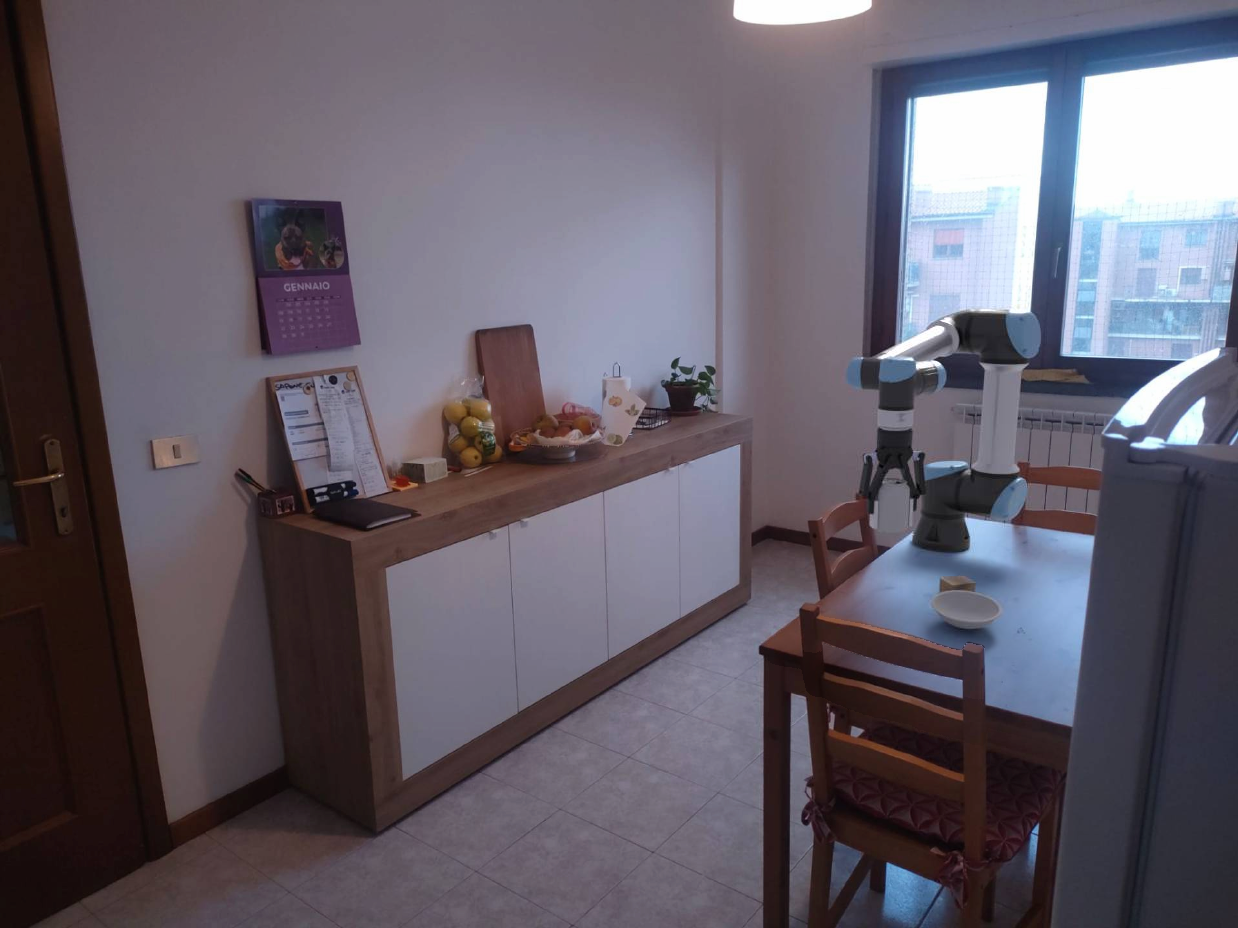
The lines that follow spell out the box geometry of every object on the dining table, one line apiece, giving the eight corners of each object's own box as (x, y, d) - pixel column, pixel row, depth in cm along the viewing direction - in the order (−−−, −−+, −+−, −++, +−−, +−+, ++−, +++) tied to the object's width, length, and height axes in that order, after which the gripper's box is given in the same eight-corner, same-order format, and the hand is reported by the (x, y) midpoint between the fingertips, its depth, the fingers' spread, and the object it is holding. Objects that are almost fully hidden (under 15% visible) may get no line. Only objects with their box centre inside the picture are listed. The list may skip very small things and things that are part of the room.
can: (909, 536, 191) (912, 484, 188) (874, 535, 193) (876, 483, 190) (905, 526, 198) (908, 476, 195) (872, 525, 200) (874, 475, 197)
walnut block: (961, 590, 206) (962, 575, 205) (974, 598, 201) (975, 582, 201) (939, 593, 205) (939, 577, 204) (951, 601, 200) (952, 585, 199)
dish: (1003, 647, 176) (1005, 625, 175) (929, 639, 181) (930, 617, 180) (998, 614, 192) (999, 593, 191) (929, 607, 197) (931, 587, 196)
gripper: (857, 433, 185) (853, 534, 190) (947, 428, 187) (941, 528, 193) (844, 426, 192) (841, 524, 198) (931, 421, 194) (925, 518, 200)
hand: (890, 525), depth 195 cm, fingers closed on can, 7 cm apart
